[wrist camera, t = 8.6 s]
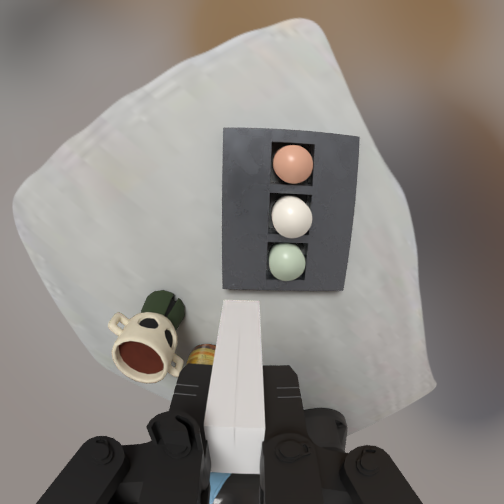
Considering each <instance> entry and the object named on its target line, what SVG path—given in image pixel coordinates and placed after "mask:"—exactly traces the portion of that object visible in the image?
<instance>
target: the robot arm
mask: <svg viewBox="0 0 504 504" xmlns="http://www.w3.org/2000/svg"><path fill="white" fill-rule="evenodd" d="M147 429H148V432H149V435H150V437H151V440H152V441H150V442H148V443H143V444H135V445H121V444H120V443H119V442H118V441H116V440H115V439H113V438H110V437H107V436H96V437H94V438H91V439H89V440H87V441H86V442H85V443H84V444H83V445H82V446H81V447H80V449H79V450H78V451H77V452H76V454H75V455H74V456H73V458H72V459H71V460H70V461H69V463H68V464H67V465H66V466H65V468H64V469H63V470H62V471H61V473H60V474H59V475H58V477H57V478H56V479H55V480H54V482H53V483H52V484H51V485H50V487H49V488H48V489H47V490H46V492H45V493H44V494H43V495H42V497H41V498H40V499H39V501H38V502H37V503H36V504H423V503H422V502H421V501H420V499H419V498H418V496H417V495H416V493H415V492H414V491H413V490H412V488H411V486H410V485H409V483H408V482H407V481H406V479H405V477H404V476H403V475H402V473H401V472H400V470H399V469H398V467H397V466H396V465H395V463H394V462H393V461H392V459H391V457H390V456H389V455H388V454H387V453H386V452H385V451H384V450H383V449H381V448H379V447H376V446H370V445H369V446H368V445H366V446H361V447H357V448H355V449H354V450H352V451H350V452H349V453H345V445H346V437H347V424H346V421H345V418H344V416H343V415H342V414H341V413H339V412H338V411H335V410H332V409H325V408H317V409H309V410H304V411H303V405H302V399H301V394H300V389H299V382H298V377H297V374H296V373H295V372H294V370H293V369H292V368H291V367H290V365H284V366H262V346H261V325H260V304H259V301H248V300H224V302H223V307H222V313H221V319H220V325H219V331H218V337H217V343H216V349H215V355H214V362H213V365H208V364H193V363H188V364H187V365H186V366H185V367H184V368H183V369H182V370H181V371H180V373H179V376H178V380H177V385H176V387H175V390H174V395H173V398H172V401H171V405H170V409H169V411H167V412H164V413H161V414H158V415H156V416H155V417H154V418H153V419H151V420H150V422H149V424H148V425H147ZM210 471H211V473H210Z"/></svg>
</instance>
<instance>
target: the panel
mask: <svg viewBox="0 0 504 504" xmlns="http://www.w3.org/2000/svg"><path fill="white" fill-rule="evenodd" d="M359 138H360V137H357V136H349V135H341V134H333V133H323V132H313V131H300V130H286V129H266V128H223V173H222V280H223V289H242V290H298V291H343V288H344V282H345V276H346V270H347V263H348V256H349V249H350V241H351V233H352V225H353V216H354V207H355V196H356V185H357V172H358V157H359ZM272 142H277V143H294V144H308V145H310V152H309V154H310V155H311V157H312V160H313V169H312V172H311V174H310V176H309V177H308V183H296V184H292V183H287V182H270V173H271V145H272ZM270 193H290V194H307V206H308V207H309V209H310V211H311V213H312V224H311V226H310V228H309V230H308V231H307V232H306V233H305V234H304V235H302V236H300V237H298V238H286V237H284V236H282V235H281V234H279V233H278V232H277V231H276V229H275V228H268V222H269V199H270ZM268 242H288V243H304V244H303V256H304V258H305V269H304V271H303V273H302V274H301V275H300V276H299V277H298V278H296V279H294V280H291V281H282V280H279V279H277V278H276V277H275V276H274V275H273V274H272V273H271V270H266V266H267V245H268Z"/></svg>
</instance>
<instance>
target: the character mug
mask: <svg viewBox="0 0 504 504" xmlns="http://www.w3.org/2000/svg"><path fill="white" fill-rule="evenodd" d="M173 295H174V294H173V293H171V292H168V291H164V290H161V291H154V292H153V293H151V294H150V295H149V296H148V297H147V298H146V301H145V303H144V305H143V308H142V310H141V313H139V314H136V315H135V316H133V317H132V318H130V319H128V318H127V317H125V316H124V315H123V314H122V313H120V312H118V313H116V314H114V316H113V317H112V319H111V320H110V321H109V323H108V328H109V329H110V330H111V331H112V332H113V333H115V334H116V335H117V336H118V338H117V340H116V341H115V344H114V346H113V349H112V358H113V361H114V363H115V364H116V366H117V368H118V369H119V370H120V371H121V372H122V373H123V374H124V375H125V376H127V377H129V378H131V379H133V380H135V381H137V382H142V383H157V382H159V381H161V380H163V379H164V377H165V375H166V374H167V372H168V373H170V374H171V375H173V376H175V377H178V376H179V373H180V371H181V370H182V367H183V364H184V361H183V360H182V358H180V357H179V356H177V355H176V354H175V350H176V347H177V344H178V342H177V333H176V330H177V328H178V327H179V325H180V323H181V321H182V319H183V317H184V315H185V313H184V306H183V304H182V302H181V300H180V299H179V298H178V300H177V301H176V303H175V302H174V300H172V297H173ZM119 321H120V322H121V323H122V324H123V325H125V327H124V329H123V330H122V329H121V328H120V327H118V326H117V324H118V322H119ZM171 361H173V362H175V363H176V366H175V368H174V367H173V366H171V365H170V364H171Z"/></svg>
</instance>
